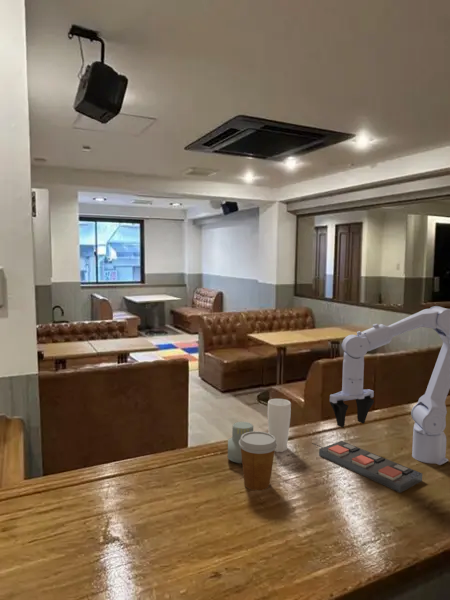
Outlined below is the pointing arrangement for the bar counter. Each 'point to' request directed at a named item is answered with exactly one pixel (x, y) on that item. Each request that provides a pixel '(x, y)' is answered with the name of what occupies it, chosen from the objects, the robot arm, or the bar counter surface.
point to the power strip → (373, 467)
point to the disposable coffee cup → (257, 458)
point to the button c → (390, 473)
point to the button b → (362, 461)
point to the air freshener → (237, 440)
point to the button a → (338, 450)
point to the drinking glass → (279, 422)
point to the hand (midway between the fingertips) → (350, 424)
